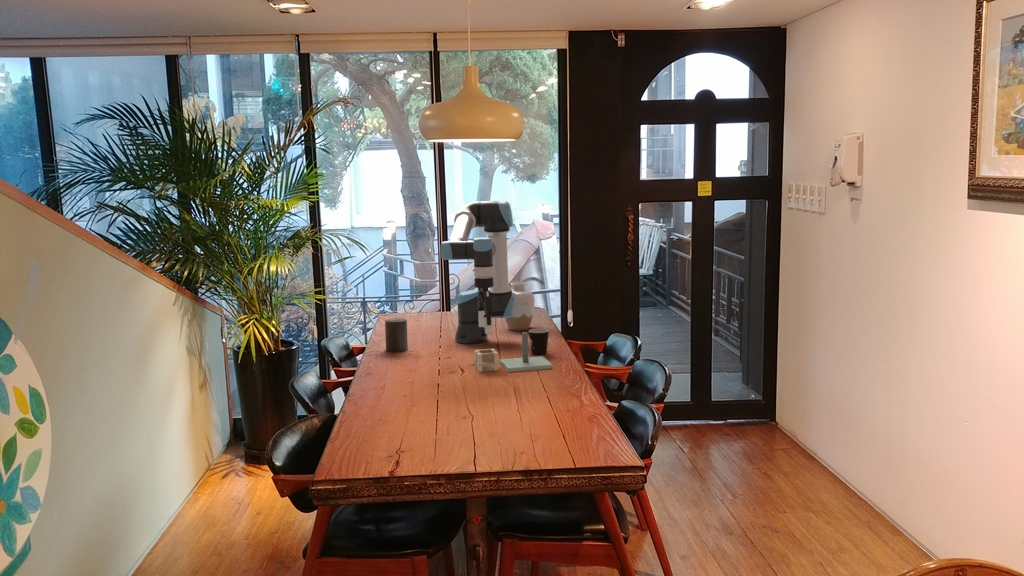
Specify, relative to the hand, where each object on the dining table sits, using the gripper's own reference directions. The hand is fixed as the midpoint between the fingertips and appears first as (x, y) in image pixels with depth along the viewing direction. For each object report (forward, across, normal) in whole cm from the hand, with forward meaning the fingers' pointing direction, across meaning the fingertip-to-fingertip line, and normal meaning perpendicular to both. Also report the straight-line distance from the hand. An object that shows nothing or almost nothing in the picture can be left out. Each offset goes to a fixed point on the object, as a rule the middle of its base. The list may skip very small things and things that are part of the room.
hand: (485, 330), depth 320 cm
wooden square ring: (+16, 0, 0) cm, 16 cm away
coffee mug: (+16, -19, +27) cm, 37 cm away
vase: (+15, -71, +30) cm, 79 cm away
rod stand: (+16, 0, +16) cm, 22 cm away
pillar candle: (+16, -45, -32) cm, 58 cm away
